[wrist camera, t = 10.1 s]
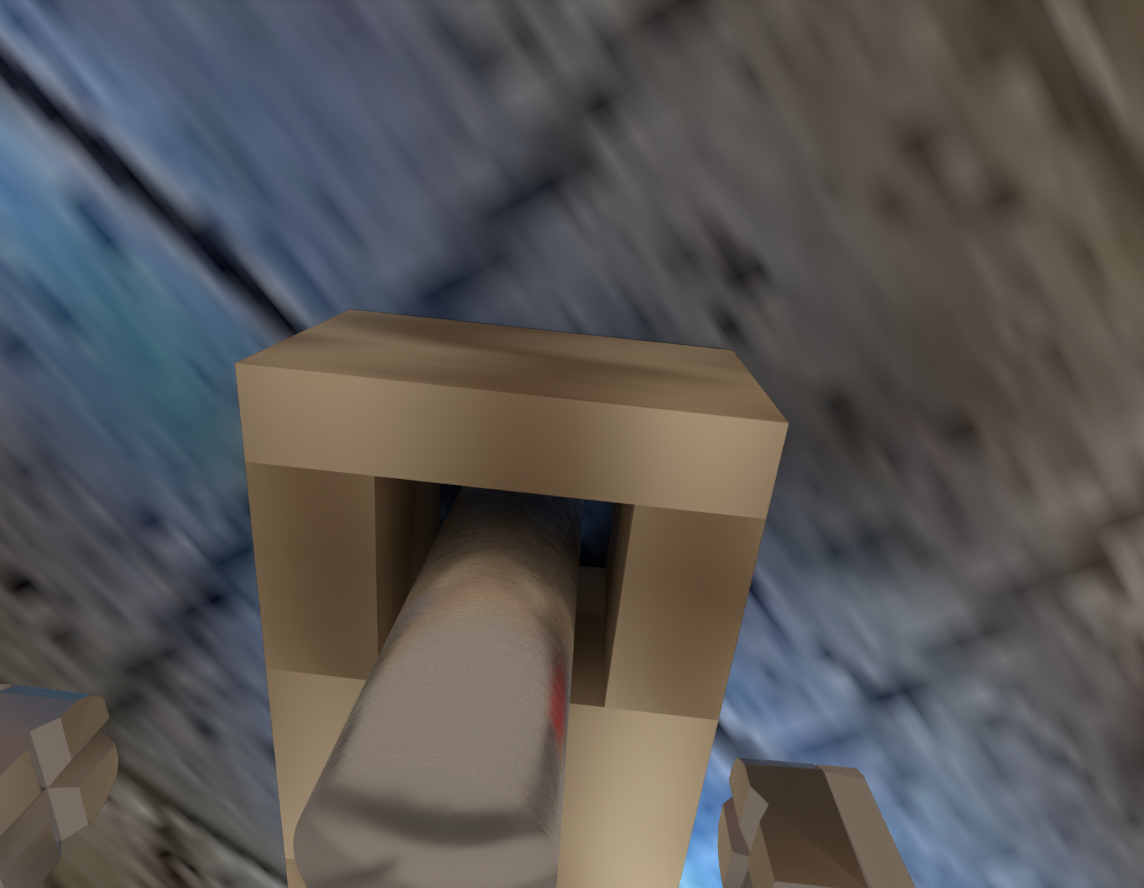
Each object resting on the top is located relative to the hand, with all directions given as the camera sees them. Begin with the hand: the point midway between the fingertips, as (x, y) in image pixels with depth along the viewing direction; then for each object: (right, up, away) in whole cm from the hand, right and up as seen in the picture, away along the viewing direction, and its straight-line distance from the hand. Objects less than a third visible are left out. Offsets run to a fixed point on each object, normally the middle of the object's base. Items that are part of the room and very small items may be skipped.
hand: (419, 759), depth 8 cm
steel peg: (+1, +3, +8) cm, 9 cm away
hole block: (0, -2, +10) cm, 10 cm away
